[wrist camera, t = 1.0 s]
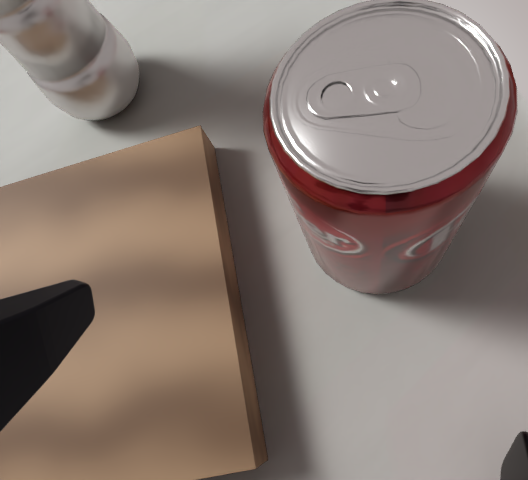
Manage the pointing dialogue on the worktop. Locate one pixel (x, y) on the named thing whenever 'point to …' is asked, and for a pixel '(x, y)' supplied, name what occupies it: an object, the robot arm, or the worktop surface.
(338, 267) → the soda can
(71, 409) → the walnut base board
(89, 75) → the plastic bottle
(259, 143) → the worktop surface
